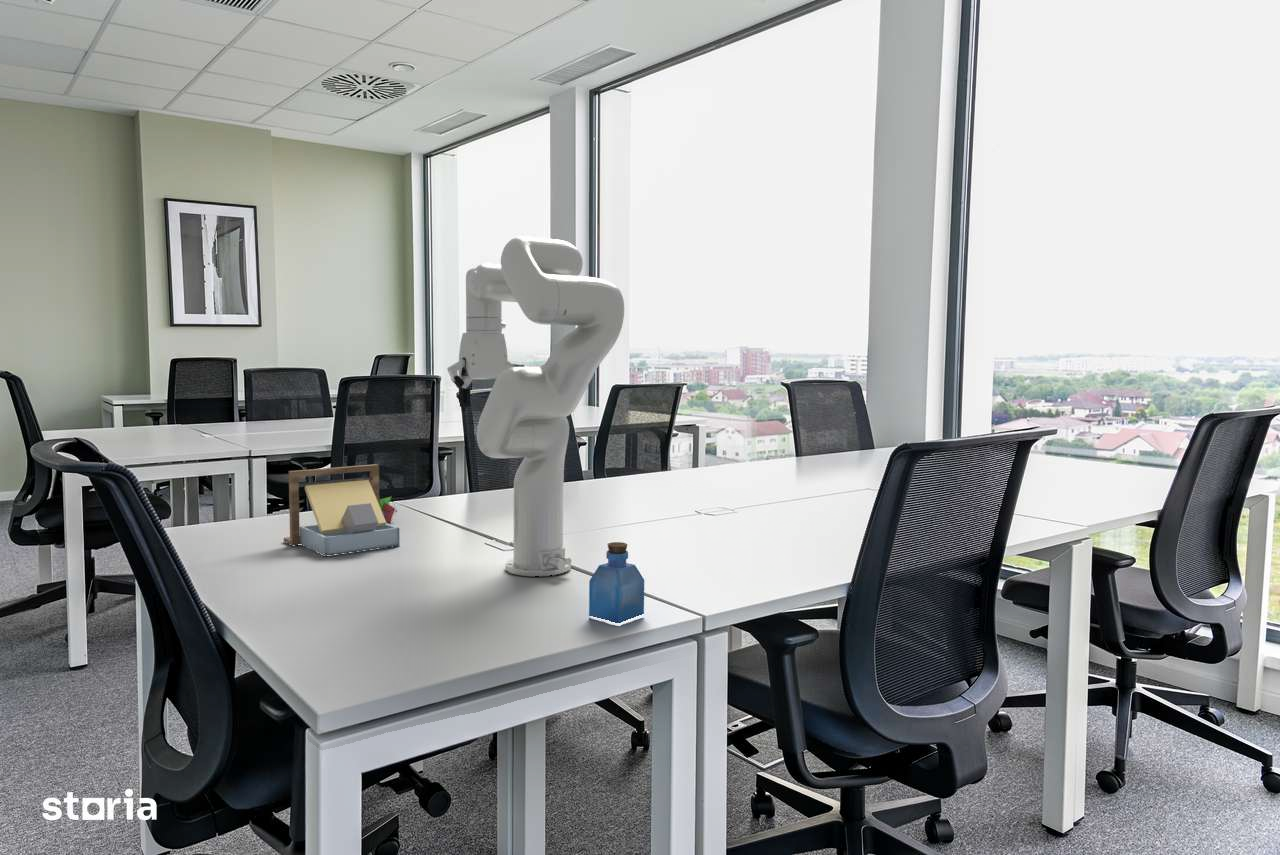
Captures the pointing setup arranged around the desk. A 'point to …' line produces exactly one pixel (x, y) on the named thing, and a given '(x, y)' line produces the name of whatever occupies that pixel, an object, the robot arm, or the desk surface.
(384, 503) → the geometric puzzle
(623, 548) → the perfume bottle
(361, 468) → the bracket
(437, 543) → the desk surface
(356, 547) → the tray
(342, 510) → the flap
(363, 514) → the gray cube
